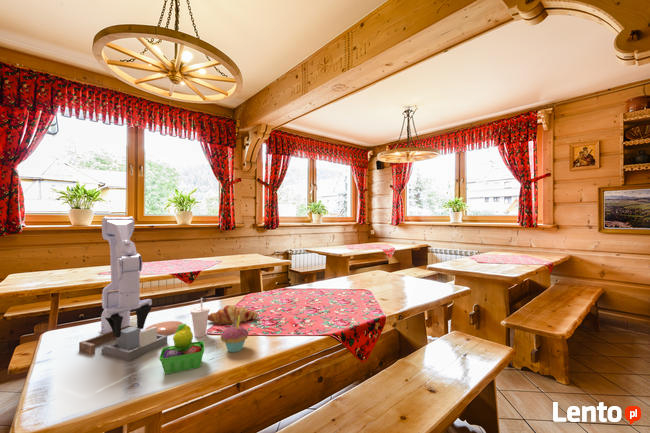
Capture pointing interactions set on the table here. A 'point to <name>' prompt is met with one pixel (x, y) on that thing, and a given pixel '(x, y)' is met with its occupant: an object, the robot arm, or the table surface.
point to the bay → (97, 341)
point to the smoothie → (200, 320)
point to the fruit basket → (182, 352)
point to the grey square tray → (146, 344)
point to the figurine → (235, 323)
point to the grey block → (129, 338)
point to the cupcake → (234, 337)
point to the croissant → (231, 315)
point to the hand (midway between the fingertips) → (129, 332)
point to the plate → (166, 327)
